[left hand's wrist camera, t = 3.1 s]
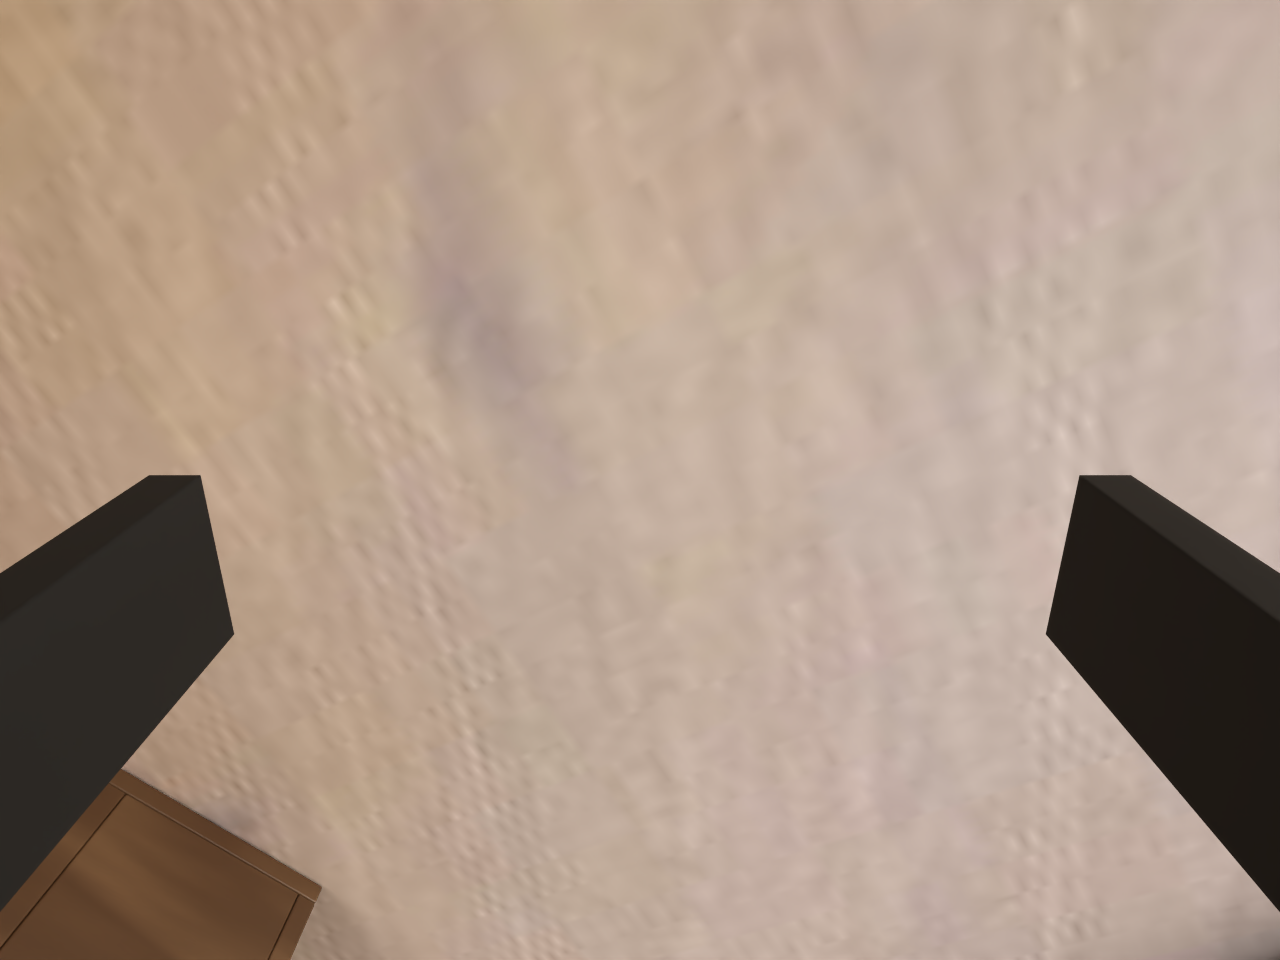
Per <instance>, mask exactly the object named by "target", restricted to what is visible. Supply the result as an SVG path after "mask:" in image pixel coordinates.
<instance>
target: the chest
mask: <svg viewBox="0 0 1280 960" xmlns="http://www.w3.org/2000/svg"><path fill="white" fill-rule="evenodd" d="M321 889H322V887H321V886H319V885H317V884H316V883H314V882H312V881H311V880H309V879H307V878H306V877H304V876H302V875H300V874H299V873H297V872H295V871H294V870H292V869H290V868H288V867H287V866H285V865H283V864H282V863H280V862H278V861H277V860H275V859H273V858H271V857H270V856H268V855H266V854H265V853H263V852H261V851H260V850H258V849H256V848H254V847H253V846H251V845H249V844H248V843H246V842H244V841H243V840H241V839H239V838H237V837H236V836H234V835H232V834H231V833H229V832H227V831H226V830H224V829H222V828H220V827H219V826H217V825H215V824H214V823H212V822H210V821H209V820H207V819H205V818H203V817H202V816H200V815H198V814H197V813H195V812H193V811H192V810H190V809H188V808H186V807H185V806H183V805H181V804H180V803H178V802H176V801H174V800H173V799H171V798H169V797H168V796H166V795H164V794H163V793H161V792H159V791H157V790H156V789H154V788H152V787H151V786H149V785H147V784H146V783H144V782H142V781H140V780H139V779H137V778H135V777H134V776H132V775H130V774H129V773H127V772H125V771H123V770H122V769H120V770H119V771H118V773H117V774H116V775H115V776H114V777H113V779H112V780H111V781H110V782H109V783H108V785H107V786H106V787H105V788H104V789H103V790H102V792H101V793H100V794H99V795H98V796H97V798H96V799H95V800H94V801H93V802H92V804H91V805H90V806H89V807H88V808H87V809H86V811H85V812H84V813H83V814H82V815H81V817H80V818H79V819H78V820H77V821H76V823H75V824H74V825H73V826H72V827H71V828H70V830H69V831H68V832H67V833H66V834H65V836H64V837H63V838H62V839H61V840H60V842H59V843H58V844H57V845H56V846H55V847H54V849H53V850H52V851H51V852H50V853H49V855H48V856H47V857H46V858H45V859H44V861H43V862H42V863H41V864H40V865H39V866H38V868H37V869H36V870H35V871H34V872H33V874H32V875H31V876H30V877H29V878H28V880H27V881H26V882H25V883H24V884H23V885H22V887H21V888H20V889H19V890H18V891H17V893H16V894H15V895H14V896H13V897H12V899H11V900H10V901H9V902H8V903H7V904H6V906H5V907H4V908H3V909H2V910H1V912H0V960H290V959H291V957H292V954H293V952H294V950H295V947H296V945H297V943H298V941H299V938H300V936H301V934H302V932H303V929H304V927H305V925H306V923H307V920H308V918H309V916H310V913H311V911H312V909H313V907H314V903H315V902H316V900H317V898H318V896H319V893H320V891H321Z"/></svg>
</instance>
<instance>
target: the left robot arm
mask: <svg viewBox="0 0 1280 960" xmlns="http://www.w3.org/2000/svg"><path fill="white" fill-rule="evenodd" d="M233 635H234V631H233V626H232V622H231V617H230V612H229V607H228V603H227V598H226V593H225V589H224V584H223V579H222V575H221V570H220V565H219V560H218V556H217V551H216V546H215V542H214V537H213V532H212V528H211V523H210V518H209V513H208V509H207V504H206V499H205V495H204V490H203V485H202V480H201V476H200V475H149V476H147V477H146V478H144V479H143V480H141V481H140V482H138V483H137V484H135V485H134V486H132V487H131V488H129V489H128V490H126V491H125V492H123V493H122V494H120V495H119V496H117V497H116V498H114V499H112V500H111V501H109V502H108V503H106V504H105V505H103V506H102V507H100V508H99V509H97V510H96V511H94V512H93V513H91V514H90V515H88V516H87V517H85V518H84V519H82V520H81V521H79V522H78V523H76V524H75V525H73V526H71V527H70V528H68V529H67V530H65V531H64V532H62V533H61V534H59V535H58V536H56V537H55V538H53V539H52V540H50V541H49V542H47V543H46V544H44V545H43V546H41V547H40V548H38V549H37V550H35V551H33V552H32V553H30V554H29V555H27V556H26V557H24V558H23V559H21V560H20V561H18V562H17V563H15V564H14V565H12V566H11V567H9V568H8V569H6V570H5V571H3V572H2V573H0V912H1V910H2V909H3V908H4V907H5V906H6V904H7V903H8V902H9V901H10V900H11V899H12V897H13V896H14V895H15V894H16V893H17V891H18V890H19V889H20V888H21V887H22V885H23V884H24V883H25V882H26V881H27V880H28V878H29V877H30V876H31V875H32V874H33V872H34V871H35V870H36V869H37V868H38V866H39V865H40V864H41V863H42V862H43V861H44V859H45V858H46V857H47V856H48V855H49V853H50V852H51V851H52V850H53V849H54V847H55V846H56V845H57V844H58V843H59V842H60V840H61V839H62V838H63V837H64V836H65V834H66V833H67V832H68V831H69V830H70V828H71V827H72V826H73V825H74V824H75V823H76V821H77V820H78V819H79V818H80V817H81V815H82V814H83V813H84V812H85V811H86V809H87V808H88V807H89V806H90V805H91V804H92V802H93V801H94V800H95V799H96V798H97V796H98V795H99V794H100V793H101V792H102V790H103V789H104V788H105V787H106V786H107V785H108V783H109V782H110V781H111V780H112V779H113V777H114V776H115V775H116V774H117V773H118V771H119V770H120V769H121V768H122V767H123V766H124V764H125V763H126V762H127V761H128V760H129V758H130V757H131V756H132V755H133V754H134V752H135V751H136V750H137V749H138V748H139V747H140V745H141V744H142V743H143V742H144V741H145V739H146V738H147V737H148V736H149V735H150V733H151V732H152V731H153V730H154V729H155V728H156V726H157V725H158V724H159V723H160V722H161V720H162V719H163V718H164V717H165V716H166V714H167V713H168V712H169V711H170V710H171V709H172V707H173V706H174V705H175V704H176V703H177V701H178V700H179V699H180V698H181V697H182V695H183V694H184V693H185V692H186V691H187V690H188V688H189V687H190V686H191V685H192V684H193V682H194V681H195V680H196V679H197V678H198V676H199V675H200V674H201V673H202V672H203V671H204V669H205V668H206V667H207V666H208V665H209V663H210V662H211V661H212V660H213V659H214V657H215V656H216V655H217V654H218V653H219V652H220V650H221V649H222V648H223V647H224V646H225V644H226V643H227V642H228V641H229V640H230V638H231V637H232V636H233ZM1046 635H1047V636H1048V637H1049V638H1050V640H1051V641H1052V642H1053V643H1054V644H1055V646H1056V647H1057V648H1058V649H1059V650H1060V652H1061V653H1062V654H1063V655H1064V656H1065V657H1066V659H1067V660H1068V661H1069V662H1070V663H1071V665H1072V666H1073V667H1074V668H1075V669H1076V671H1077V672H1078V673H1079V674H1080V675H1081V676H1082V678H1083V679H1084V680H1085V681H1086V682H1087V684H1088V685H1089V686H1090V687H1091V688H1092V690H1093V691H1094V692H1095V693H1096V694H1097V695H1098V697H1099V698H1100V699H1101V700H1102V701H1103V703H1104V704H1105V705H1106V706H1107V707H1108V709H1109V710H1110V711H1111V712H1112V713H1113V714H1114V716H1115V717H1116V718H1117V719H1118V720H1119V722H1120V723H1121V724H1122V725H1123V726H1124V728H1125V729H1126V730H1127V731H1128V732H1129V733H1130V735H1131V736H1132V737H1133V738H1134V739H1135V741H1136V742H1137V743H1138V744H1139V745H1140V747H1141V748H1142V749H1143V750H1144V751H1145V752H1146V754H1147V755H1148V756H1149V757H1150V758H1151V760H1152V761H1153V762H1154V763H1155V764H1156V766H1157V767H1158V768H1159V769H1160V770H1161V771H1162V773H1163V774H1164V775H1165V776H1166V777H1167V779H1168V780H1169V781H1170V782H1171V783H1172V785H1173V786H1174V787H1175V788H1176V789H1177V790H1178V792H1179V793H1180V794H1181V795H1182V796H1183V798H1184V799H1185V800H1186V801H1187V802H1188V804H1189V805H1190V806H1191V807H1192V808H1193V809H1194V811H1195V812H1196V813H1197V814H1198V815H1199V817H1200V818H1201V819H1202V820H1203V821H1204V823H1205V824H1206V825H1207V826H1208V827H1209V828H1210V830H1211V831H1212V832H1213V833H1214V834H1215V836H1216V837H1217V838H1218V839H1219V840H1220V842H1221V843H1222V844H1223V845H1224V846H1225V847H1226V849H1227V850H1228V851H1229V852H1230V853H1231V855H1232V856H1233V857H1234V858H1235V859H1236V861H1237V862H1238V863H1239V864H1240V865H1241V866H1242V868H1243V869H1244V870H1245V871H1246V872H1247V874H1248V875H1249V876H1250V877H1251V878H1252V880H1253V881H1254V882H1255V883H1256V884H1257V885H1258V887H1259V888H1260V889H1261V890H1262V891H1263V893H1264V894H1265V895H1266V896H1267V897H1268V899H1269V900H1270V901H1271V902H1272V903H1273V904H1274V906H1275V907H1276V908H1277V909H1278V910H1279V912H1280V573H1278V572H1277V571H1275V570H1274V569H1272V568H1271V567H1269V566H1268V565H1266V564H1265V563H1263V562H1262V561H1260V560H1259V559H1257V558H1256V557H1254V556H1253V555H1251V554H1250V553H1248V552H1247V551H1245V550H1243V549H1242V548H1240V547H1239V546H1237V545H1236V544H1234V543H1233V542H1231V541H1230V540H1228V539H1227V538H1225V537H1224V536H1222V535H1221V534H1219V533H1218V532H1216V531H1215V530H1213V529H1212V528H1210V527H1209V526H1207V525H1205V524H1204V523H1202V522H1201V521H1199V520H1198V519H1196V518H1195V517H1193V516H1192V515H1190V514H1189V513H1187V512H1186V511H1184V510H1183V509H1181V508H1180V507H1178V506H1177V505H1175V504H1174V503H1172V502H1171V501H1169V500H1168V499H1166V498H1164V497H1163V496H1161V495H1160V494H1158V493H1157V492H1155V491H1154V490H1152V489H1151V488H1149V487H1148V486H1146V485H1145V484H1143V483H1142V482H1140V481H1139V480H1137V479H1136V478H1134V477H1133V476H1131V475H1080V476H1079V480H1078V485H1077V490H1076V495H1075V499H1074V504H1073V509H1072V513H1071V518H1070V523H1069V528H1068V532H1067V537H1066V542H1065V546H1064V551H1063V556H1062V560H1061V565H1060V570H1059V575H1058V579H1057V584H1056V589H1055V593H1054V598H1053V603H1052V607H1051V612H1050V617H1049V622H1048V626H1047V631H1046Z"/></svg>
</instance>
